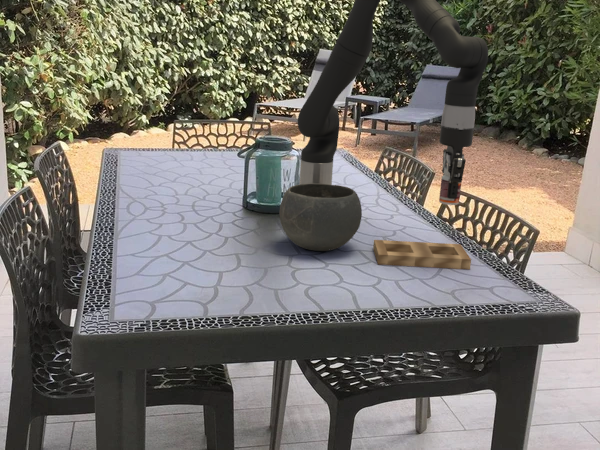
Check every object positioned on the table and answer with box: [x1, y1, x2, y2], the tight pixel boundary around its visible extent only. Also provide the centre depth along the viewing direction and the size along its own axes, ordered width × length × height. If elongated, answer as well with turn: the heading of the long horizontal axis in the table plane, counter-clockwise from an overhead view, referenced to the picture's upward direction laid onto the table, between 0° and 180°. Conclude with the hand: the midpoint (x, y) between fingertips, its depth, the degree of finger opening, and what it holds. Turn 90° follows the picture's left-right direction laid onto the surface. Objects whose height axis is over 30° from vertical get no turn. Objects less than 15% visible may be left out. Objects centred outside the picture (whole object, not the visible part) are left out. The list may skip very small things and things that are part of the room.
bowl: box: [278, 183, 363, 252], centre depth 173 cm, size 20×20×15 cm
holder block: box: [372, 239, 472, 270], centre depth 170 cm, size 22×12×2 cm, turn 89°
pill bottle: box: [438, 167, 462, 206], centre depth 166 cm, size 5×5×8 cm
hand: (449, 195), depth 166 cm, fingers closed on pill bottle, 4 cm apart
